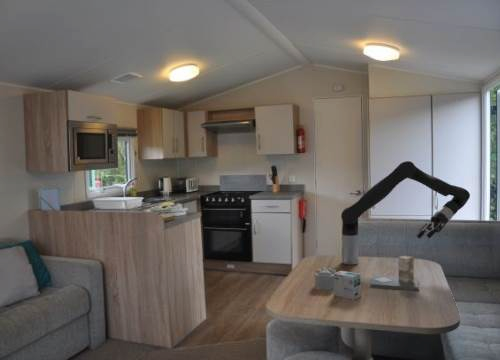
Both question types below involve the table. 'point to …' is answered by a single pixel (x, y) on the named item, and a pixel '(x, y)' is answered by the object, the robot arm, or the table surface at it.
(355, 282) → the light bulb box
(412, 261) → the pale ash block
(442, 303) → the table surface
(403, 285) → the charcoal board
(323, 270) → the lumpy-topped squat cylinder
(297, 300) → the table surface
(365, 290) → the table surface
